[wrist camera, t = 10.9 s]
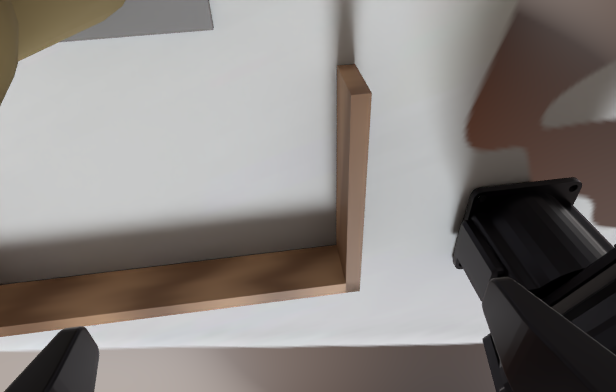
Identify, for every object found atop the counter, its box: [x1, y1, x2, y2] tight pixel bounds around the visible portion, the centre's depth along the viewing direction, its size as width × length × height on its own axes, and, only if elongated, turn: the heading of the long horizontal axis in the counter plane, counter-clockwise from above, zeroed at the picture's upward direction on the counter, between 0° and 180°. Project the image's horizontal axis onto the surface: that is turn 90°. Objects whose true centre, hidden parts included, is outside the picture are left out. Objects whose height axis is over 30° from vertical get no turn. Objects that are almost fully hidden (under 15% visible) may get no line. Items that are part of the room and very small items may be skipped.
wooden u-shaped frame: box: [0, 64, 372, 337], centre depth 20 cm, size 22×12×3 cm, turn 92°
